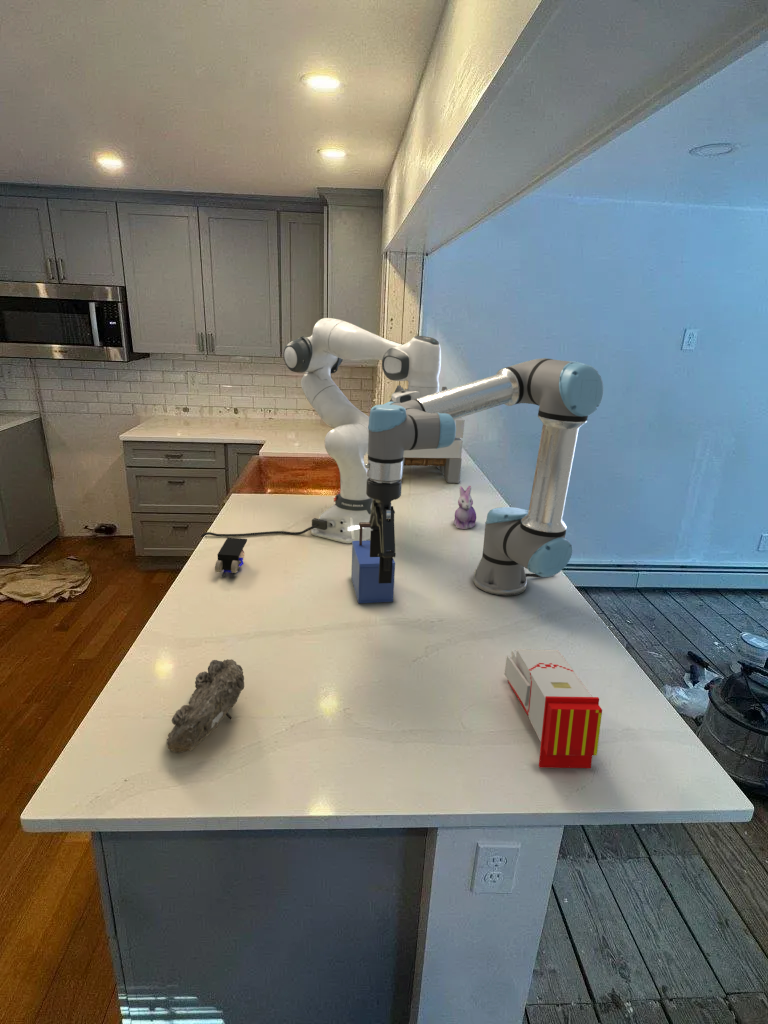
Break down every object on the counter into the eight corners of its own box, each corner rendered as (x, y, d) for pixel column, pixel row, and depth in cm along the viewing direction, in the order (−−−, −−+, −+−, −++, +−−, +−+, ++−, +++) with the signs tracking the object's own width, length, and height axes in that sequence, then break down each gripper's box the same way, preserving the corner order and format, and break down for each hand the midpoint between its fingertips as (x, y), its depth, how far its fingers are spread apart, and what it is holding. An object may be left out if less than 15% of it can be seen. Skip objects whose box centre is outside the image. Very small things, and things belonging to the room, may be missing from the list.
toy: (554, 631, 124) (612, 705, 95) (548, 687, 127) (603, 776, 98) (499, 630, 124) (540, 704, 94) (495, 686, 126) (533, 775, 97)
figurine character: (238, 584, 162) (249, 557, 175) (236, 562, 158) (247, 536, 172) (215, 584, 161) (227, 556, 175) (212, 561, 158) (225, 535, 171)
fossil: (192, 660, 117) (244, 628, 112) (224, 691, 120) (276, 661, 115) (142, 746, 98) (202, 712, 93) (182, 779, 101) (242, 748, 96)
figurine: (462, 531, 204) (465, 492, 199) (446, 522, 213) (449, 483, 207) (483, 528, 208) (487, 489, 203) (467, 518, 217) (470, 481, 212)
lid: (351, 543, 163) (352, 518, 160) (384, 542, 165) (385, 517, 162) (359, 567, 148) (360, 540, 146) (395, 566, 150) (396, 539, 147)
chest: (351, 578, 166) (352, 545, 162) (383, 577, 167) (385, 544, 164) (358, 603, 152) (359, 567, 148) (393, 601, 154) (395, 566, 150)
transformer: (382, 463, 289) (386, 382, 275) (445, 464, 293) (451, 384, 279) (390, 482, 257) (394, 392, 243) (460, 483, 261) (468, 394, 247)
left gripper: (454, 394, 166) (450, 441, 171) (386, 394, 162) (384, 441, 167) (461, 398, 160) (457, 446, 165) (390, 397, 156) (388, 446, 161)
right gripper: (359, 463, 132) (356, 547, 139) (375, 497, 109) (371, 595, 116) (391, 463, 133) (387, 546, 140) (413, 497, 110) (407, 594, 117)
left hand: (420, 443), depth 166 cm, fingers open, 8 cm apart
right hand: (379, 569), depth 128 cm, fingers open, 13 cm apart
